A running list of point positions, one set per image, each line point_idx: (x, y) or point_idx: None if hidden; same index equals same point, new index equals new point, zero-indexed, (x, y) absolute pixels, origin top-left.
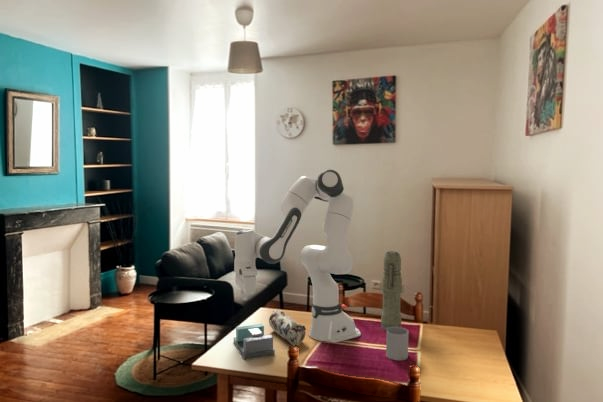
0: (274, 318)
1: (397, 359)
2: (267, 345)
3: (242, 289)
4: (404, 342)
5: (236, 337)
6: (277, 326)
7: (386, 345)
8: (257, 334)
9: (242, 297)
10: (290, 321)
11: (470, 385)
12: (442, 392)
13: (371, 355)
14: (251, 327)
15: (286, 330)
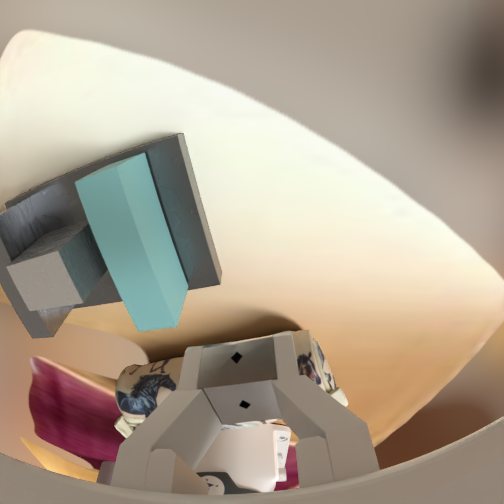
0: None
1: (101, 464)
2: None
3: (42, 496)
4: None
5: (133, 156)
6: None
7: (111, 478)
8: (20, 288)
9: (241, 358)
10: None
11: (57, 467)
12: (30, 446)
13: (111, 452)
14: (113, 267)
15: (141, 390)
